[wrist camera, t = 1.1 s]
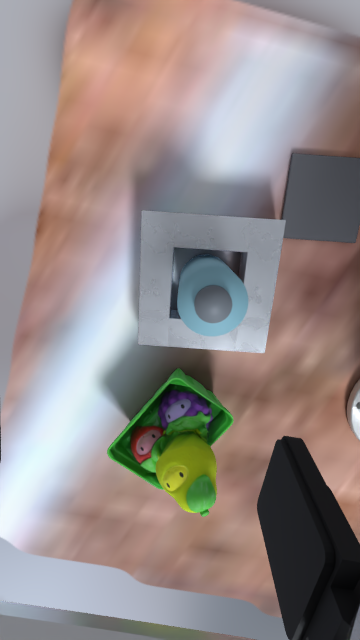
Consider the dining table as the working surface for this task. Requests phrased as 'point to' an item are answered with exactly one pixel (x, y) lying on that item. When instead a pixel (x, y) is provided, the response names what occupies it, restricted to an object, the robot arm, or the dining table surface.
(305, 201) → the mat
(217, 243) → the frame
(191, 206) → the dining table surface
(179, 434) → the fruit basket
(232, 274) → the blue cylinder
